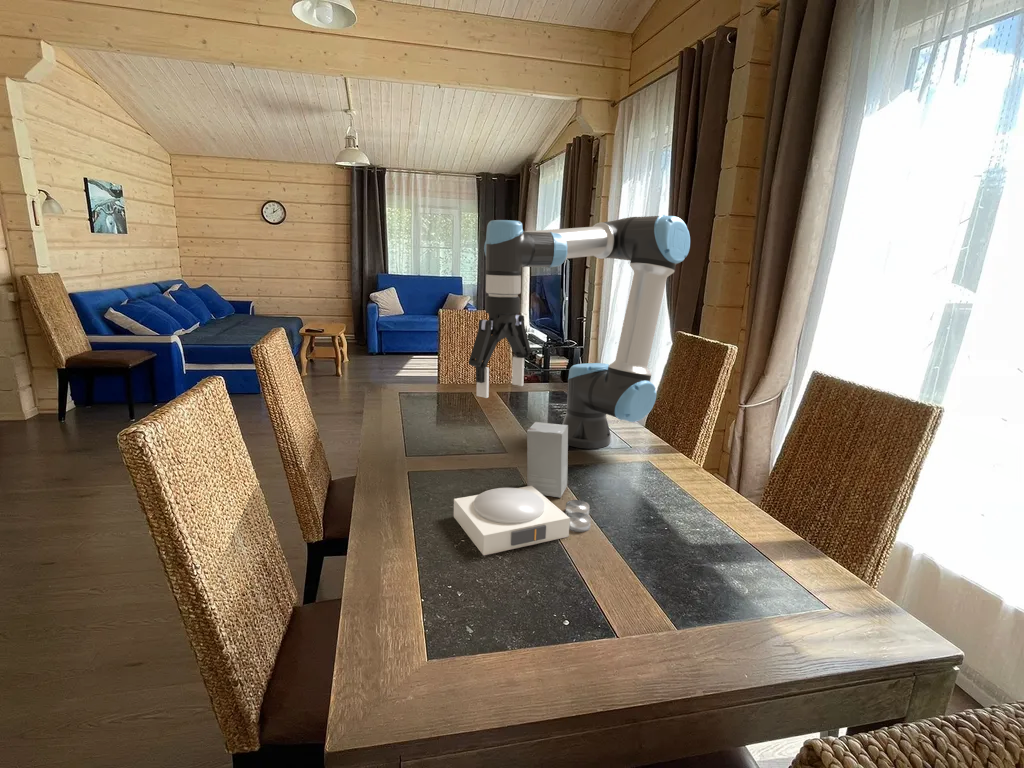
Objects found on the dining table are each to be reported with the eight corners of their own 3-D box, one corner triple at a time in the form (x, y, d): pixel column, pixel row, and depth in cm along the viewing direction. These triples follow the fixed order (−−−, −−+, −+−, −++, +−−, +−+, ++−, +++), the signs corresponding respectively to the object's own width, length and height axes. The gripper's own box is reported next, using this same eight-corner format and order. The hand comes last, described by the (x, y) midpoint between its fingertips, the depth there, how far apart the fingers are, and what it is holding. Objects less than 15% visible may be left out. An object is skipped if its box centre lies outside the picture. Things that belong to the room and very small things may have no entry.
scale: (530, 502, 120) (531, 481, 119) (570, 538, 106) (571, 514, 105) (453, 516, 113) (453, 494, 111) (484, 557, 98) (485, 532, 97)
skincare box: (567, 488, 128) (571, 424, 125) (559, 500, 122) (563, 433, 118) (533, 482, 131) (535, 419, 127) (523, 494, 124) (526, 428, 121)
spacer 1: (580, 506, 120) (581, 498, 119) (593, 516, 115) (594, 508, 115) (561, 510, 117) (561, 502, 117) (573, 521, 113) (574, 512, 113)
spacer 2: (581, 519, 114) (582, 510, 113) (595, 530, 110) (595, 521, 109) (560, 523, 112) (561, 514, 111) (573, 535, 107) (574, 525, 107)
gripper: (520, 291, 129) (517, 378, 134) (451, 297, 109) (451, 399, 114) (547, 293, 125) (543, 382, 130) (481, 299, 105) (480, 405, 110)
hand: (500, 390), depth 122 cm, fingers open, 13 cm apart
